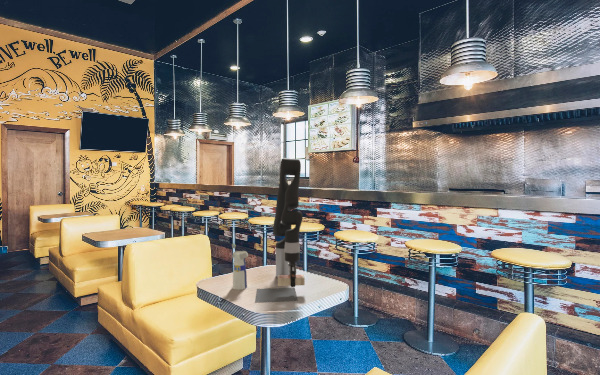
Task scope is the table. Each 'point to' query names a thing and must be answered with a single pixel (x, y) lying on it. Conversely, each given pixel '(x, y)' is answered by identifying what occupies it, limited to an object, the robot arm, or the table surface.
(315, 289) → the table surface
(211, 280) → the table surface
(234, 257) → the water bottle
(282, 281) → the tan two-tone tall block
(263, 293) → the rubber mat
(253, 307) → the table surface
